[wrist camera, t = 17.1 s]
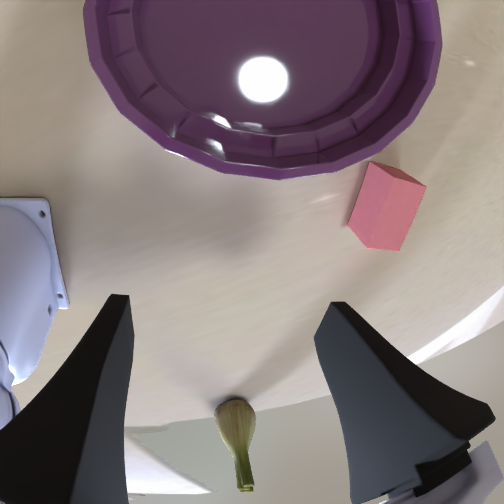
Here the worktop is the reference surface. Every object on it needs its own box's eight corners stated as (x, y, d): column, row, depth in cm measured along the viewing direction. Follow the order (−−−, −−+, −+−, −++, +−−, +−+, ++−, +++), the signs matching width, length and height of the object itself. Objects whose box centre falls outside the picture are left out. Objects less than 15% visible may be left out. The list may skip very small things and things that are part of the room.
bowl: (365, 177, 18) (398, 202, 15) (94, 144, 14) (67, 165, 11) (412, -33, 9) (450, -41, 6) (152, -100, 5) (144, -130, 2)
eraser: (378, 229, 21) (399, 251, 18) (347, 225, 20) (366, 248, 18) (401, 170, 18) (426, 186, 16) (369, 160, 17) (394, 176, 15)
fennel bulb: (226, 391, 30) (242, 488, 21) (262, 396, 32) (283, 484, 23) (206, 410, 33) (216, 496, 23) (239, 414, 35) (254, 494, 25)
